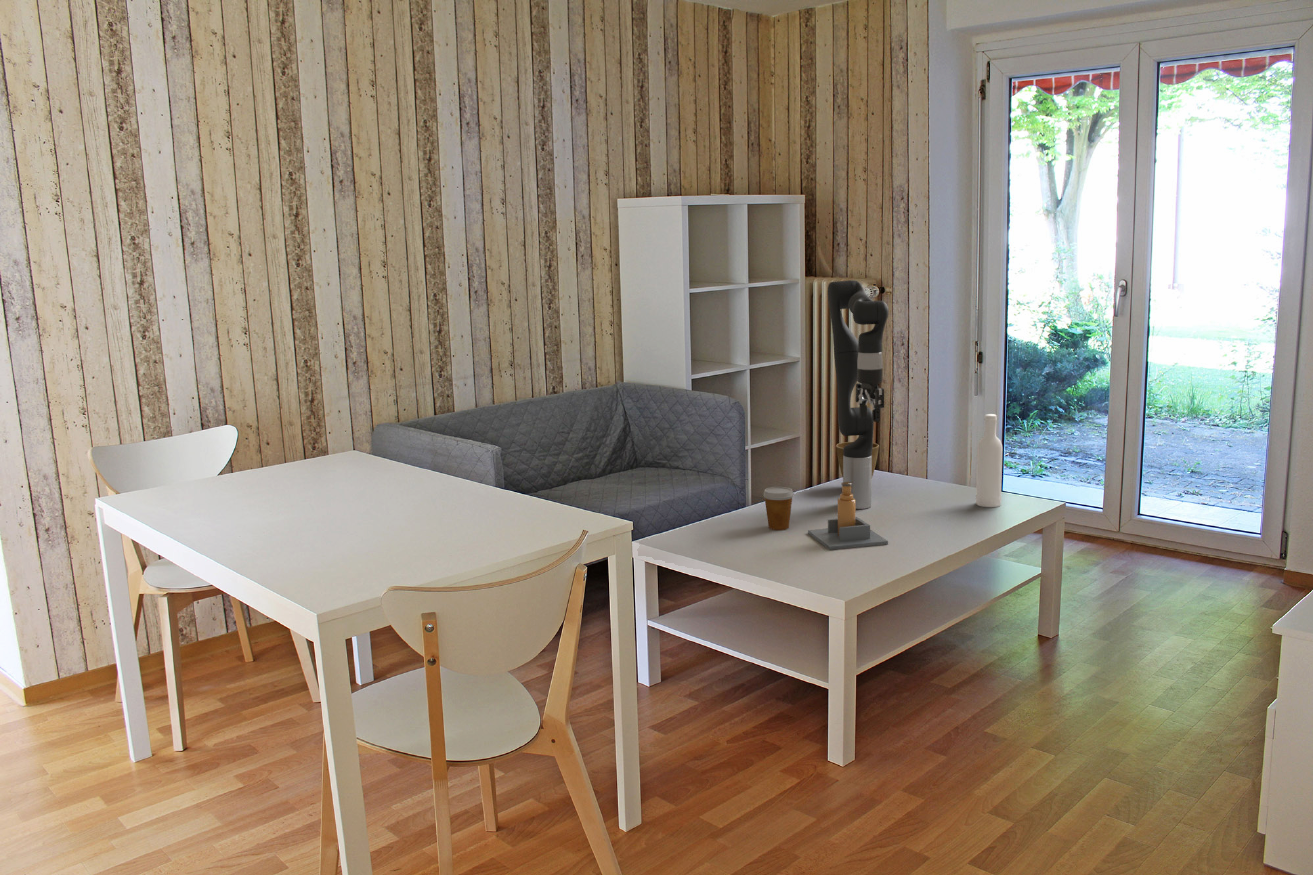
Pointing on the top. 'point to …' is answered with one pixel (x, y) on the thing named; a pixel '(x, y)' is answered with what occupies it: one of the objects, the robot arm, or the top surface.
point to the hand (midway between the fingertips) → (869, 419)
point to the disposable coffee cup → (778, 507)
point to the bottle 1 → (846, 507)
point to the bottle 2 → (989, 466)
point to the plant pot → (842, 445)
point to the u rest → (847, 535)
